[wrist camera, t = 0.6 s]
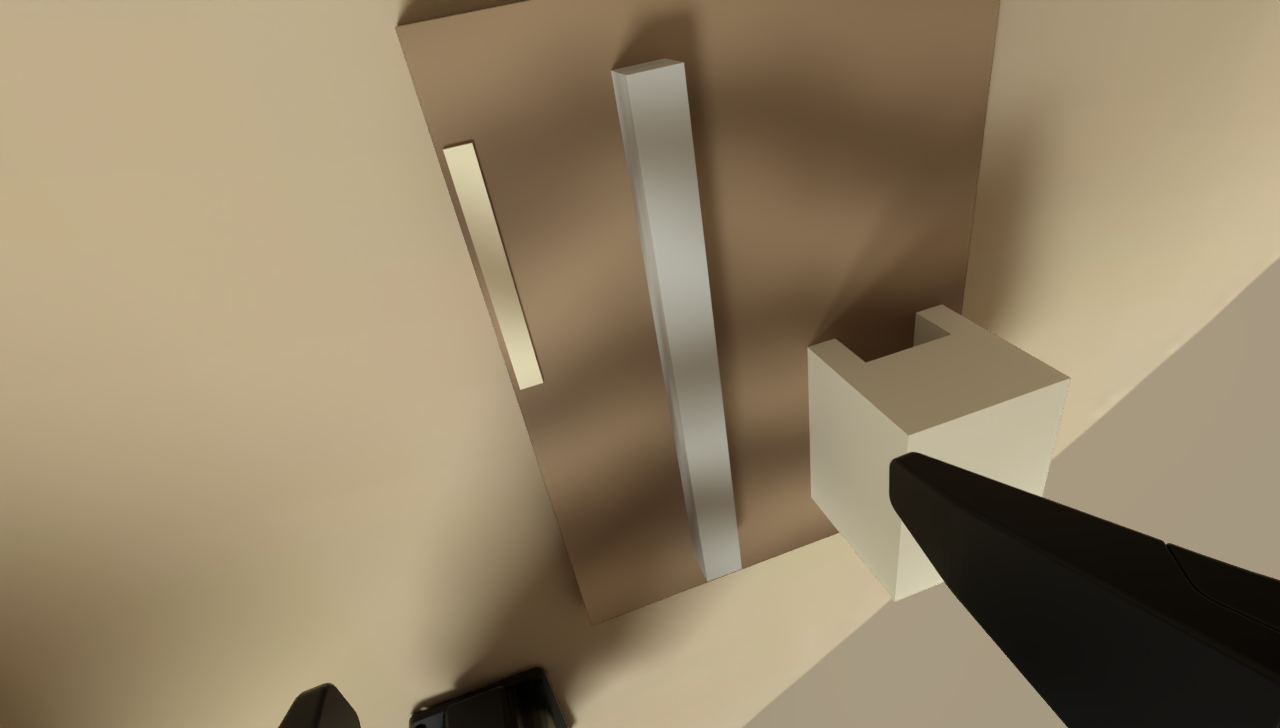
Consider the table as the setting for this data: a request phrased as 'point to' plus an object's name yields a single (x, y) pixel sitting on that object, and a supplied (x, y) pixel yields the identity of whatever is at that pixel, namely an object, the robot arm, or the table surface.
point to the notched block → (924, 430)
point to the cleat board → (775, 231)
